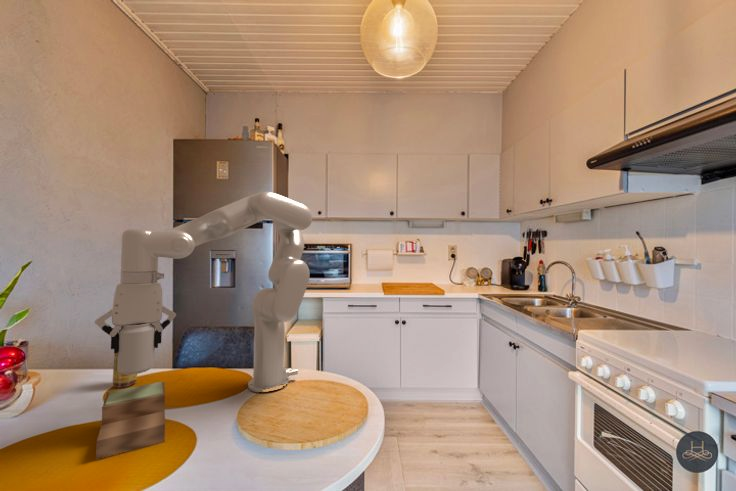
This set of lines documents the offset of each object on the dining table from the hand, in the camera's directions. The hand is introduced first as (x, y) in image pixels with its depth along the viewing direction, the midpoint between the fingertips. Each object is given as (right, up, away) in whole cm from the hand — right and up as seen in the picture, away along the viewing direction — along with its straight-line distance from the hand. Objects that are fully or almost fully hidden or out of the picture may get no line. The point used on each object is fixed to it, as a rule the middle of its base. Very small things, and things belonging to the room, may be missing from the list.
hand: (136, 348), depth 78 cm
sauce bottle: (-21, -19, +23) cm, 36 cm away
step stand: (+2, -19, -3) cm, 19 cm away
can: (0, -6, 0) cm, 6 cm away
